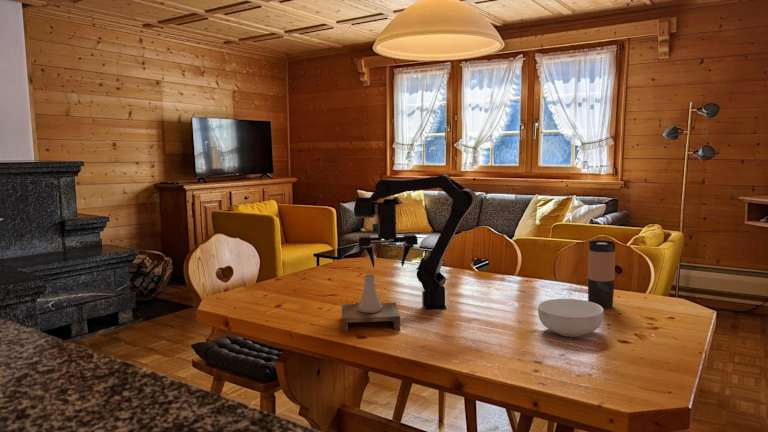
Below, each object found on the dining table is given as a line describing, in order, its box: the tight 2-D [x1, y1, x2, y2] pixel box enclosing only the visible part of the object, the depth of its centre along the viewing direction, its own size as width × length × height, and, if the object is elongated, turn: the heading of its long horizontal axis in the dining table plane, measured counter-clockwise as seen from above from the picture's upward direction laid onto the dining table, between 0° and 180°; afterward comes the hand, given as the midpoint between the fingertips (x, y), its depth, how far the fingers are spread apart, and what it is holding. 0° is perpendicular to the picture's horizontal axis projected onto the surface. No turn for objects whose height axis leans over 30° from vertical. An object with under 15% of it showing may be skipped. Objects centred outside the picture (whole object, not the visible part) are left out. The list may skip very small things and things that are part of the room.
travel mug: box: [587, 239, 616, 310], centre depth 176 cm, size 8×8×20 cm
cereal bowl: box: [537, 298, 605, 338], centre depth 153 cm, size 17×17×7 cm
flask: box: [357, 274, 383, 313], centre depth 162 cm, size 7×7×10 cm
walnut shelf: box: [341, 302, 401, 334], centre depth 163 cm, size 16×14×4 cm
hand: (388, 266), depth 183 cm, fingers open, 9 cm apart
